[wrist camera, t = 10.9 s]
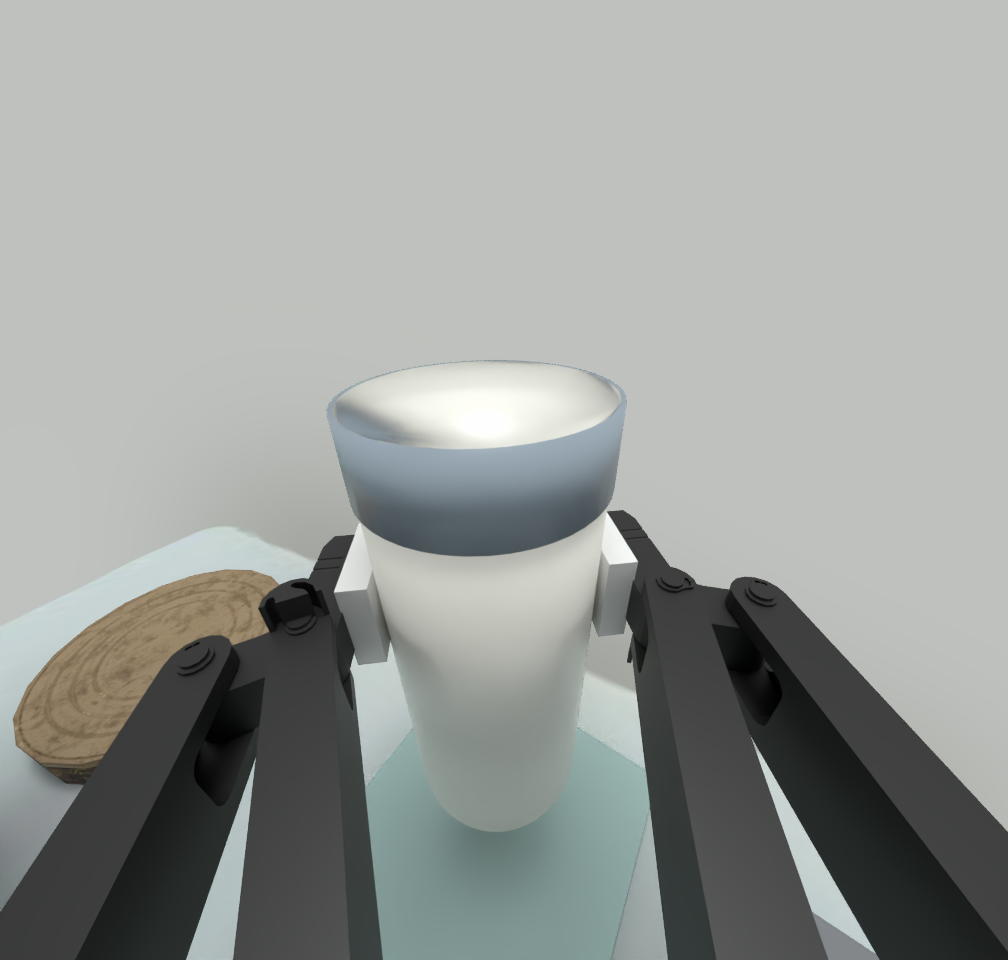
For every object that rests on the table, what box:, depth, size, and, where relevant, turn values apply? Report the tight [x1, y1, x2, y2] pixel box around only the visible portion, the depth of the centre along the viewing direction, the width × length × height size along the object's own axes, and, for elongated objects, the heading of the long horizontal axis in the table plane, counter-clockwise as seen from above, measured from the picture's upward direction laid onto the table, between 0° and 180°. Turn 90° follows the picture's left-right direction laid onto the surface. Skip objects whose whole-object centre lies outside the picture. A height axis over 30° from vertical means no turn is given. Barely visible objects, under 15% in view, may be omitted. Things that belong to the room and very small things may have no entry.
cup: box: [327, 360, 627, 832], centre depth 12 cm, size 6×6×14 cm
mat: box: [365, 727, 650, 960], centre depth 21 cm, size 14×14×1 cm
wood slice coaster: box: [13, 570, 279, 785], centre depth 29 cm, size 16×16×3 cm
